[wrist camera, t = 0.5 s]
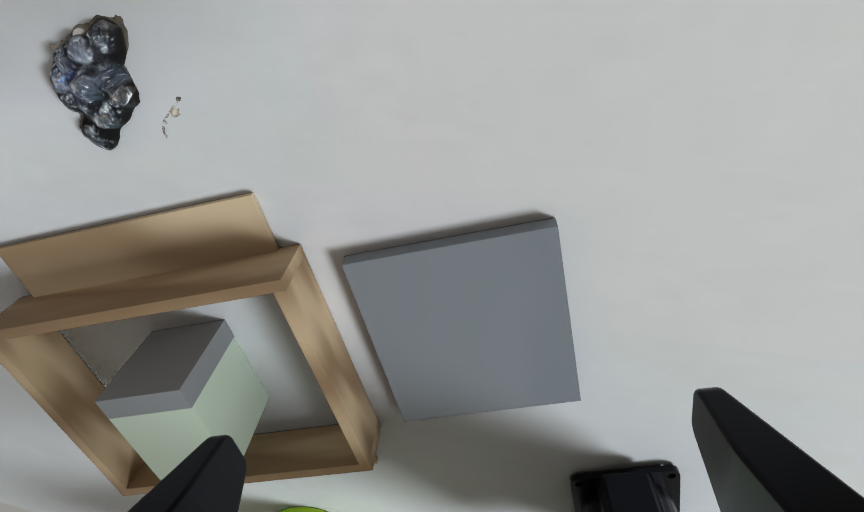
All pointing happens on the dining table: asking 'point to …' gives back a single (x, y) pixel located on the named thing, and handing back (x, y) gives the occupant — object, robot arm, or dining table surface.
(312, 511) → the soap dispenser
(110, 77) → the blueberries
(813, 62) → the dining table surface
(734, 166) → the dining table surface
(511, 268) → the coaster
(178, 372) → the box
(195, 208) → the wooden frame
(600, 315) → the dining table surface
